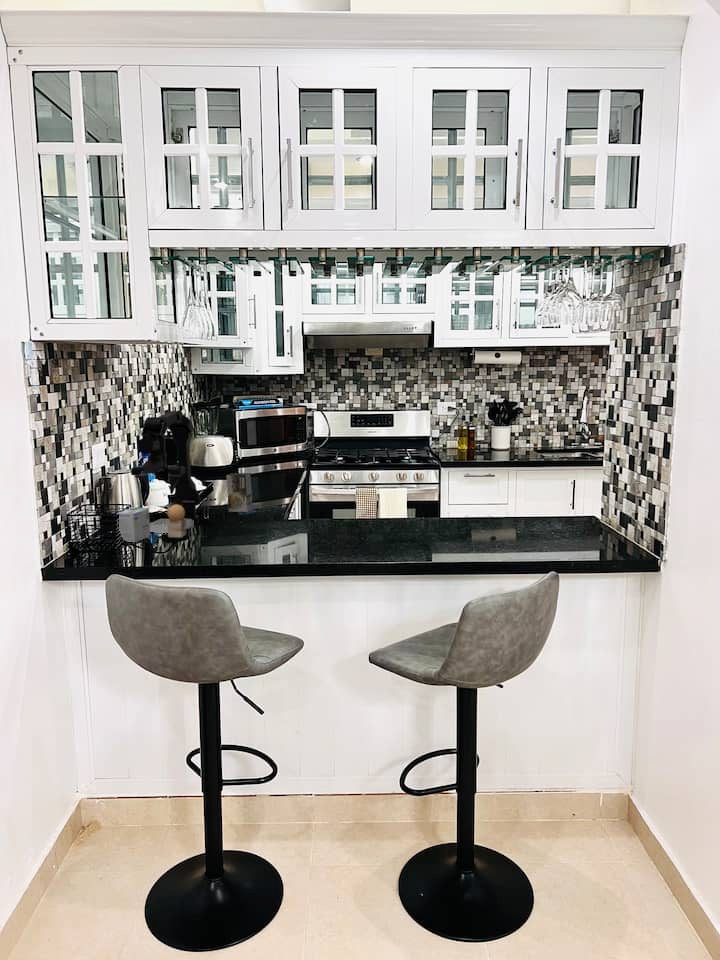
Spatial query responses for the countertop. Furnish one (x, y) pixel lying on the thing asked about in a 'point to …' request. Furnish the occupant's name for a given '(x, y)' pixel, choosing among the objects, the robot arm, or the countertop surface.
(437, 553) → the countertop surface
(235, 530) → the countertop surface
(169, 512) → the ball
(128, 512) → the light bulb box
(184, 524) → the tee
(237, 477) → the coffee box
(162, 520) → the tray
